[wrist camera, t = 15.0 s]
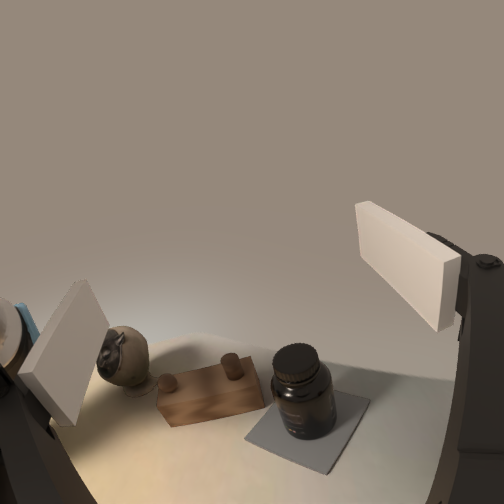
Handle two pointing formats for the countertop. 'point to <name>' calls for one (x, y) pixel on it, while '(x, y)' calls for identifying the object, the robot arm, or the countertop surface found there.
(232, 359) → the plane body block
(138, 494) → the countertop surface
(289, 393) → the supplement bottle
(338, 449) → the slate mat
